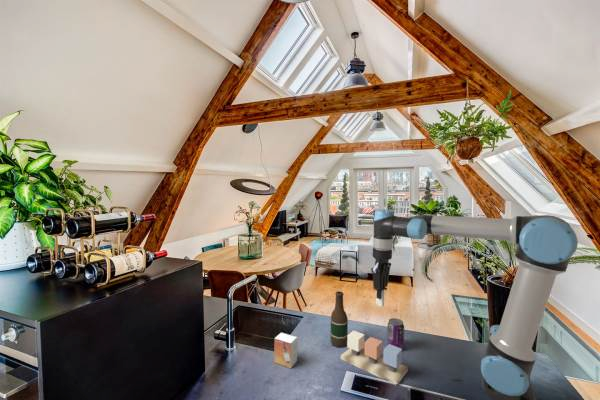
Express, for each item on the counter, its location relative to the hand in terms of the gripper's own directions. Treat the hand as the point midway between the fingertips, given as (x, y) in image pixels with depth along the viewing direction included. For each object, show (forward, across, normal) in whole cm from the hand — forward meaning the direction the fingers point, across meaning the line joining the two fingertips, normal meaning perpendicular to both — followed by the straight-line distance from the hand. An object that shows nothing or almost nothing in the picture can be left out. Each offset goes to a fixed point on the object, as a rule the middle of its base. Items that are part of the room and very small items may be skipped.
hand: (379, 305), depth 115 cm
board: (+24, +3, 0) cm, 24 cm away
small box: (+25, +26, -28) cm, 45 cm away
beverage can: (+24, -15, +1) cm, 29 cm away
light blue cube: (+20, +3, +8) cm, 21 cm away
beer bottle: (+25, 0, -19) cm, 31 cm away
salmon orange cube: (+20, +3, 0) cm, 20 cm away
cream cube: (+20, +3, -8) cm, 22 cm away
